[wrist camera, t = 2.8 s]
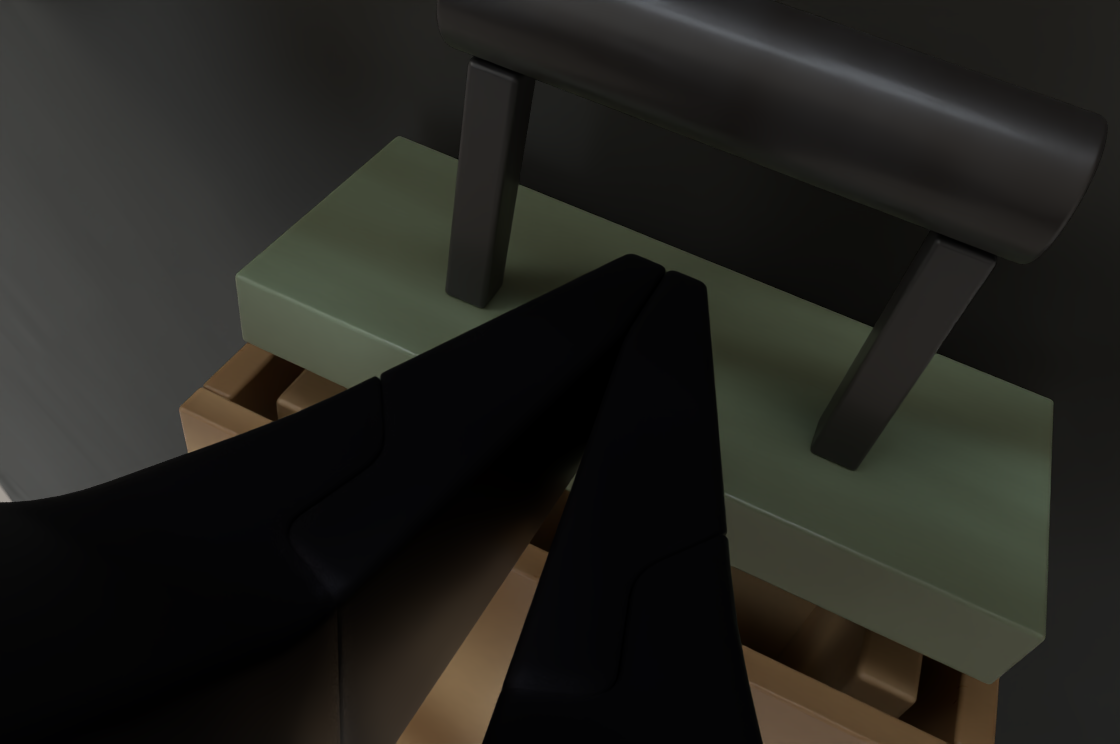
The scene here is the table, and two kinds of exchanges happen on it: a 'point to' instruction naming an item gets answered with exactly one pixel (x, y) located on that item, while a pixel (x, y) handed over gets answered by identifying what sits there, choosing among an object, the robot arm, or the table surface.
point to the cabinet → (484, 657)
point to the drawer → (748, 307)
